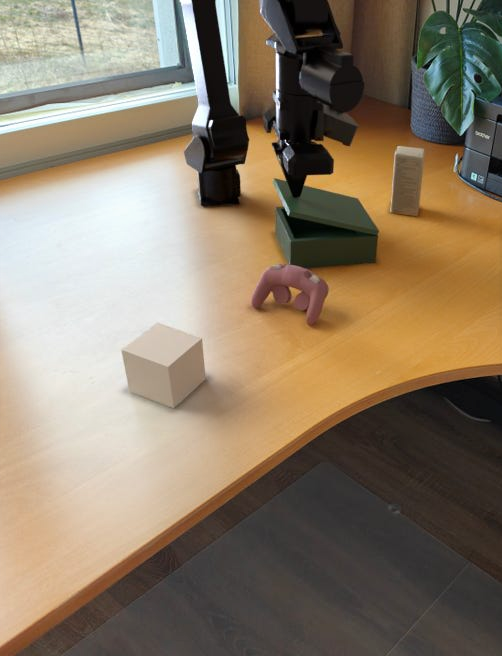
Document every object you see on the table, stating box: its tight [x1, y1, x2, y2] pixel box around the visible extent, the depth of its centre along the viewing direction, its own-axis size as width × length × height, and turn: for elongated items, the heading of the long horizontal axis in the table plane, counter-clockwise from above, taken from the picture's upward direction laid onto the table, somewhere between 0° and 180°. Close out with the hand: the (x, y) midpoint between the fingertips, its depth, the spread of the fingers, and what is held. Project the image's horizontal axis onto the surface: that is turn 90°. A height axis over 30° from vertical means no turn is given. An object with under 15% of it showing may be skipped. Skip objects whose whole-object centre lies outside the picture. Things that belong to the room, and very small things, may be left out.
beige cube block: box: [120, 322, 207, 409], centre depth 75 cm, size 6×6×6 cm
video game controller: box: [250, 263, 330, 326], centre depth 90 cm, size 10×5×7 cm, turn 71°
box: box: [389, 145, 426, 217], centre depth 118 cm, size 5×4×11 cm
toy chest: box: [274, 206, 379, 270], centre depth 105 cm, size 14×12×5 cm
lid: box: [272, 177, 380, 236], centre depth 102 cm, size 14×12×1 cm
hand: (296, 196), depth 99 cm, fingers closed, pressing on lid
